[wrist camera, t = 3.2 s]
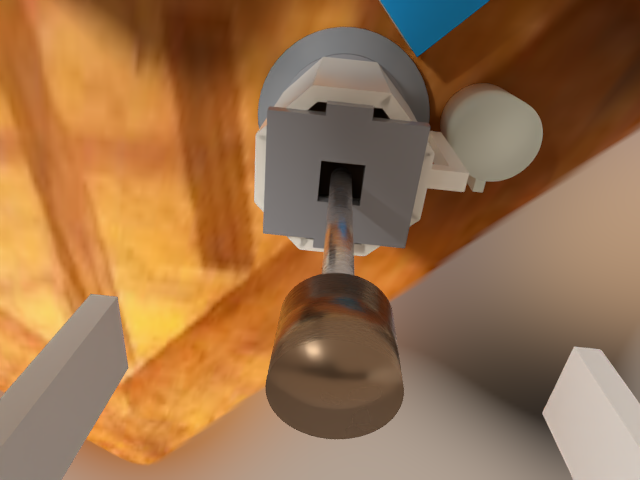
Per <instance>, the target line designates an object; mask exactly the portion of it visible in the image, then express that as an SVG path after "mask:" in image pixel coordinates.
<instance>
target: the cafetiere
mask: <svg viewBox="0 0 640 480" xmlns="http://www.w3.org/2000/svg"><path fill="white" fill-rule="evenodd" d="M430 128H431V127H430V125H429V124H428V123H424V122H417V120H416V118H415V116H414V115H413V113H412V111H411V109H410V107H409V106H408V104H407V103H406V100H405V97H404V94H403V92H402V90H401V88H400V86H399V85H398V83H397V81H396V80H395V79H394V77H393V76H392V75H391V74H390V73H389V72H388V71H387V70H386V69H385V68H384V67H383V66H381V65H380V64H378V63H377V62H375V61H373V60H371V59H369V58H367V57H364V56H361V55H356V54H347V53H340V54H332V55H328V56H324V57H322V58H319V59H317V60H315V61H313V62H311V63H310V64H308V65H307V66H306V67H304V68H303V69H302V70H301V71H300V72H299V73H298V74H297V75H296V76H295V77H294V78H293V80H292V81H291V82H290V84H289V86H288V87H287V89H286V90H285V91H284V92H283V94H282V95H281V97H280V98H279V100H278V101H277V103H276V104H275V106H274V107H272V106H269V108H268V109H267V118H266V120H265V121H264V123H263V124H262V126H261V127H260V129H259V130H258V132H257V133H256V147H255V191H254V202H255V204H256V205H257V206H258V207H259V208H260V209H261V210H262V211H263V212H264V220H263V233H265V234H275V235H284V236H287V237H288V238H289V239H290V240H291V241H292V242H293V243H294V244H295V245H296V246H297V247H298V248H299V249H300V250H310V251H319V252H324V244H325V233H326V222H327V211H328V200H329V189H330V178H331V173H332V172H333V170H335V169H336V168H339V167H343V168H346V169H348V170H349V171H350V173H351V176H352V210H353V249H354V255H357V256H364V255H365V256H366V255H367V254H369V253H370V252H372V251H374V250H375V249H377V248H378V247H380V246H388V247H397V248H405V245H406V241H407V236H408V231H409V227H410V226H411V225H413V224H414V223H416V222H417V221H419V219H420V218H421V213H422V209H423V204H424V200H425V196H426V191H427V188H430V189H439V190H449V191H458V192H464V191H465V188H466V184H467V180H468V176H469V172H468V171H467V169H466V168H465V166H464V165H463V163H462V162H461V160H460V159H459V158H458V156H457V155H456V153H455V152H454V150H453V149H452V147H451V146H450V144H449V143H448V141H447V140H446V139H445V137H444V136H443V134H442V133H441V132H435V131H430ZM433 163H434V164H433Z"/></svg>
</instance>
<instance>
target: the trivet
mask: <svg viewBox="0 0 640 480" xmlns="http://www.w3.org/2000/svg"><path fill="white" fill-rule="evenodd" d="M340 53H347V54H356V55H361V56H364V57H367V58H369V59H371V60H373V61H375V62H377V63H378V64H380V65H381V66H383V67H384V68H385V69H386V70H387V71H388V72H389V73H390V74H391V75H392V76H393V77H394V79H395V80H396V81H397V83H398V85H399V86H400V88H401V90H402V92H403V94H404V97H405V100H406V103H407V104H408V106H409V107H410V109H411V111H412V113H413V115H414V116H415V118H416V120H417V122H424V123H428V124H429V119H430V107H429V99H428V94H427V90H426V86H425V83H424V81H423V78H422V76H421V74H420V72H419V70H418V69H417V67H416V65H415V64H414V62H413V61H412V60H411V59H410V57H409V56H408V55H407V54H406V53H405V52H404V51H403V50H402V49H401V48H400V47H399V46H398V45H396V44H395V43H394V42H392V41H391V40H389V39H388V38H386V37H384V36H382V35H380V34H378V33H376V32H373V31H370V30H367V29H362V28H356V27H334V28H328V29H324V30H320V31H317V32H315V33H312V34H310V35H307V36H306V37H304V38H302V39H301V40H299V41H297V42H296V43H295V44H293V45H292V46H291V47H290V48H288V49H287V50H286V51H285V52H284V53H283V54H282V55H281V56H280V58H279V59H278V60H277V61H276V63H275V64H274V65H273V67H272V68H271V70H270V72H269V74H268V76H267V77H266V79H265V82H264V85H263V88H262V90H261V95H260V99H259V108H258V124H259V129H260V127H261V126H262V124H263V123H264V121H265V120H266V118H267V109H268V108H269V106H272V107H274V106H275V104H276V103H277V101H278V100H279V98H280V97H281V95H282V94H283V92H284V91H285V90H286V89H287V87H288V86H289V84H290V82H291V81H292V80H293V78H294V77H295V76H296V75H297V74H298V73H299V72H300V71H301V70H302V69H303V68H304V67H306V66H307V65H308V64H310V63H311V62H313V61H315V60H317V59H319V58H322V57H324V56H328V55H332V54H340Z"/></svg>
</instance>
